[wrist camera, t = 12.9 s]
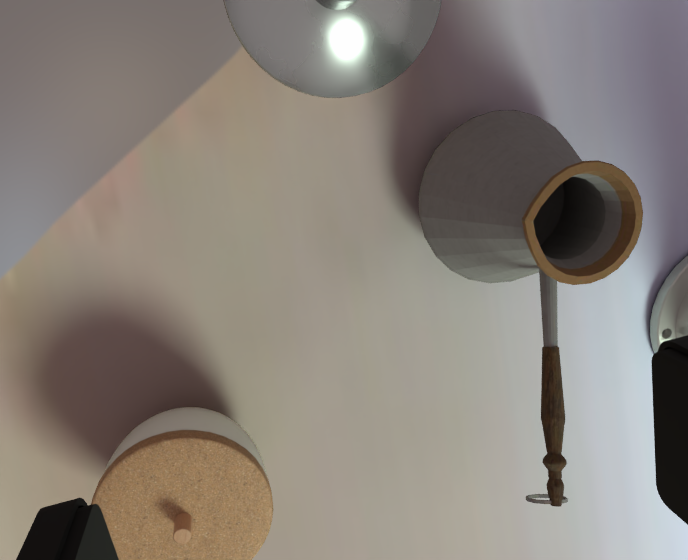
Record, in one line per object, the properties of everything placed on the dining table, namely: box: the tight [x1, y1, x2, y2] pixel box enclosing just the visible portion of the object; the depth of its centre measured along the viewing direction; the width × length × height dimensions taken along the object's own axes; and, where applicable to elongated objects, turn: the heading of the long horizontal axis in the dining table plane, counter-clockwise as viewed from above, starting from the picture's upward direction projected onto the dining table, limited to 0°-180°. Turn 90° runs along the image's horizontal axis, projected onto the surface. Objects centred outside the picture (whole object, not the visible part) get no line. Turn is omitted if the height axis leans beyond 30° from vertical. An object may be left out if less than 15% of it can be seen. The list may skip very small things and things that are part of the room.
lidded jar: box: [91, 407, 273, 560], centre depth 39 cm, size 11×11×9 cm
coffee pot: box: [419, 110, 643, 506], centre depth 37 cm, size 21×12×15 cm, turn 174°
